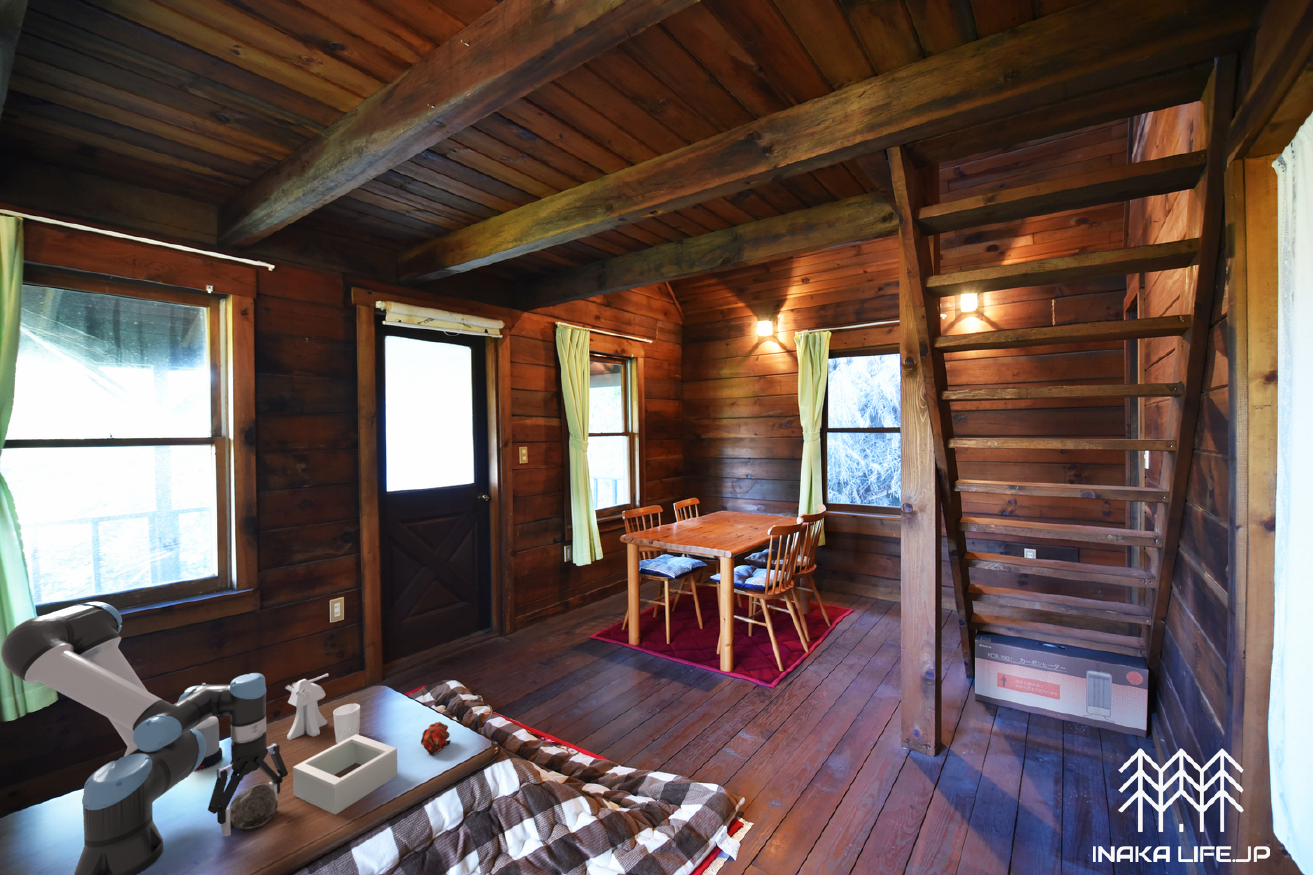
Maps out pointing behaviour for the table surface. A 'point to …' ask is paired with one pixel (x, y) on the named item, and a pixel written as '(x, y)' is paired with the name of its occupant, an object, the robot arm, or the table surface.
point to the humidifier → (210, 742)
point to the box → (339, 793)
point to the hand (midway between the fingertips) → (250, 820)
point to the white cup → (346, 721)
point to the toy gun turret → (306, 707)
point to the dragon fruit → (435, 738)
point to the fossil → (253, 808)
